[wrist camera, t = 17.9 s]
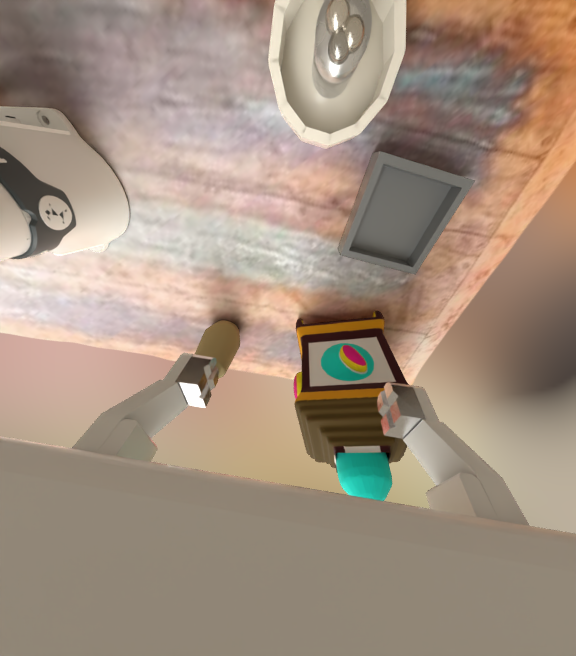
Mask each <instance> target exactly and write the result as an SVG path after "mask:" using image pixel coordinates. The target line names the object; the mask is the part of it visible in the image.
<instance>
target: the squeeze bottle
mask: <svg viewBox="0 0 576 656" xmlns="http://www.w3.org/2000/svg"><path fill="white" fill-rule="evenodd" d="M239 347H240V335H239V330H238V327H237V326H236V325H235V324H234V323H232V322H230V321H226V320H222V321H218V322H217V323H215V324H214V325H212V326H210V327H209V328H207V329H206V330H205V332H204V334H203V336H202V339H201V341H200V343H199V346H198V348H197V350H196V353H195V355H201V356H207V357H213V358H216V361H217V363H216V365H215V366H216V367H217V368H218V370H219V378H221V377H223V376H224V375H225V373H226V371H227V369H228V368H229V366H230V364H231V362H232V360H233V358H234V356H235V354H236V352H237V350H238V349H239ZM219 378H218V379H219Z"/></svg>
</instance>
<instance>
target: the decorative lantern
mask: <svg viewBox="0 0 576 656" xmlns="http://www.w3.org/2000/svg"><path fill="white" fill-rule="evenodd" d="M383 331H384V317H383V316H382V314H381V313H380V312H379V311H374V312H373V317H372V318H364V319H354V320H344V321H334V322H324V323H314V324H304V323H303V320H302V319H298V320H297V322H296V332H297V337H298V343H299V348H300V354H301V359H302V372H299V373H297V374H296V376H295V379H294V395H295V398H296V401H295V408H296V412H297V416H298V420H299V424H300V428H301V432H302V436H303V439H304V443H305V447H306V451H307V453H308V455H310V457H311V458H313V459H315V461H316V462H326V463H327V464H330V465H331V467H333V468H336V470H337V473H338V478H339V481H340V484H341V486H342V488H343V489H344V490H345V491H346V492H347V493H348V495H351V496H357V497H362V498H368V499H374V500H380V501H384V500H385V498H386V497H387V495H388V492H389V491H390V488H391V486H392V476H391V472H390V467H389V463H391V462H398V461H400V459H401V458H402V456H403V455H404V452H405V450H406V448H407V445H406V443H405V442H404V441H403V439H401V438H396V437H390V436H385V435H384V433H383V429H382V424H381V420H382V418H383V416H382V415H381V414H380V413H379V411H378V407H377V400H378V396H379V394H380V392H382V391H384V390H385V389H384V386H385V384H386V383H388V382H391V383H398V384H406V385H409V384H408V383H407V382H406V380H405V378H404V376H403V374H402V372H401V370H400V368H399V366H398V363H397V361H396V359H395V357H394V355H393V353H392V351H391V349H390V347H389V345H388V343H387V341H386V339H385V337H384V335H383Z"/></svg>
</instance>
